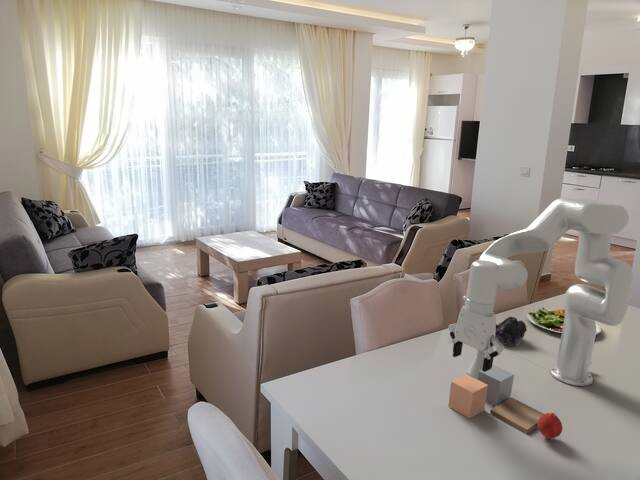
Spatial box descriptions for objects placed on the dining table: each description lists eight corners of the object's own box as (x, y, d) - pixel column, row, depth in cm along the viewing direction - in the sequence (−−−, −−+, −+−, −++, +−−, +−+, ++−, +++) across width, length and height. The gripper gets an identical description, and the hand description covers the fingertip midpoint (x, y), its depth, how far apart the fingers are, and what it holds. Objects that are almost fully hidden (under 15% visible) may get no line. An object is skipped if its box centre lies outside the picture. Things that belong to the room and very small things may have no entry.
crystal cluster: (479, 340, 183) (484, 318, 180) (493, 327, 193) (497, 306, 189) (514, 354, 175) (519, 331, 172) (527, 340, 185) (532, 318, 181)
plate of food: (513, 323, 200) (516, 309, 198) (542, 308, 218) (544, 295, 216) (585, 347, 180) (587, 333, 178) (609, 329, 198) (612, 315, 197)
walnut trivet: (511, 400, 142) (511, 397, 142) (547, 419, 134) (547, 415, 133) (490, 413, 135) (490, 409, 135) (526, 433, 127) (527, 429, 127)
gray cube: (489, 387, 149) (492, 364, 147) (510, 398, 143) (514, 374, 141) (475, 394, 144) (478, 370, 142) (496, 406, 139) (500, 381, 137)
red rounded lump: (531, 431, 128) (536, 405, 126) (551, 431, 129) (556, 404, 127) (543, 445, 122) (548, 418, 120) (564, 445, 123) (569, 418, 121)
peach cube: (463, 398, 142) (466, 374, 140) (484, 409, 137) (488, 385, 135) (448, 406, 138) (451, 381, 136) (469, 418, 132) (473, 392, 130)
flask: (490, 382, 152) (494, 354, 149) (467, 379, 153) (471, 351, 150) (487, 371, 158) (491, 344, 156) (465, 368, 160) (468, 341, 157)
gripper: (445, 298, 134) (438, 353, 138) (500, 319, 121) (490, 380, 125) (461, 293, 138) (453, 347, 142) (516, 313, 125) (506, 372, 129)
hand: (471, 362), depth 134 cm, fingers open, 9 cm apart
